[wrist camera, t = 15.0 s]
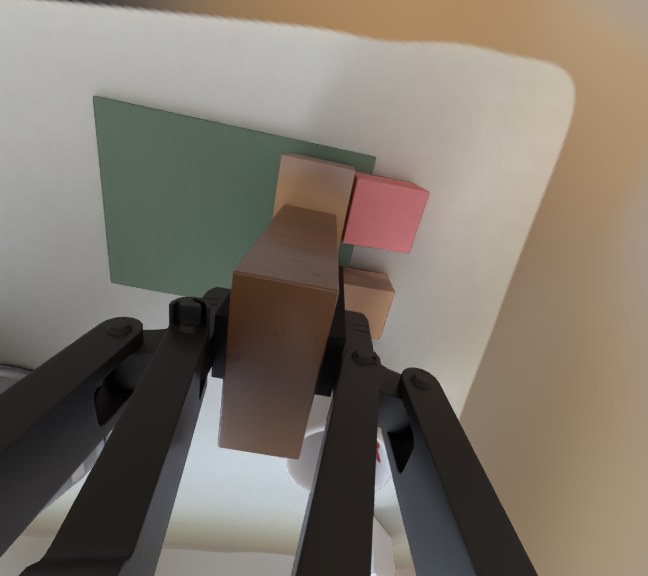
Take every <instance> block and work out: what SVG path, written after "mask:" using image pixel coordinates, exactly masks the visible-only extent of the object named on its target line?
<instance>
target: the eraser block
mask: <svg viewBox="0 0 648 576" xmlns="http://www.w3.org/2000/svg"><path fill="white" fill-rule="evenodd" d="M428 196H429V191H427V190H425V189H423V188H421V187H419V186H417V185H415V184H413V183H410V182H405V181H400V180H395V179H390V178H385V177H380V176H375V175H370V174H365V173H360V172H356V173H355V177H354V182H353V186H352V191H351V195H350V200H349V204H348V208H347V213H346V217H345V222H344V226H343V231H342V235H341V239H342V242H343V243H346V244H353V245H359V246H365V247H372V248H378V249H384V250H390V251H397V252H403V253H410V250H411V247H412V244H413V241H414V238H415V235H416V232H417V229H418V226H419V223H420V220H421V217H422V214H423V211H424V208H425V205H426V202H427V199H428Z"/></svg>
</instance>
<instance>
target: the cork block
mask: <svg viewBox="0 0 648 576" xmlns="http://www.w3.org/2000/svg"><path fill="white" fill-rule="evenodd" d="M343 275H344V297H345V310H349V311H354V312H360V313H363V314H364V315H365V316H366V318H367V319H368V321H369V328H370V334H371V338H373V339H380V337H381V334H382V331H383V328H384V325H385V322H386V319H387V316H388V312H389V309H390V306H391V303H392V300H393V297H394V294H395V291H394V289H393V287H392V284H391V282H390V280H389V278H388V275H387V274H381V273H375V272H370V271H364V270H359V269H353V268H347V267H343Z"/></svg>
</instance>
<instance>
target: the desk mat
mask: <svg viewBox="0 0 648 576" xmlns="http://www.w3.org/2000/svg"><path fill="white" fill-rule="evenodd" d="M93 104H94V115H95V125H96V135H97V145H98V155H99V165H100V175H101V185H102V196H103V206H104V216H105V226H106V236H107V246H108V256H109V266H110V277H111V283H116V284H121V285H127V286H132V287H137V288H143V289H148V290H153V291H159V292H164V293H170V294H175V295H180V296H186V297H198V298H202V297H203V296H204V294H205V293H206V292H207V291H208V290H210V289H212V288H214V287H222V288H227V289H231V283H232V272H233V270H234V269H235V268H236V267H237V265H238V264H239V263H240V261H241V260H242V259H243V257H244V256H245V255H246V253H247V252H248V251H249V249H250V248H251V247H252V246H253V244H254V243H255V242H256V240H257V239H258V238H259V236H260V235H261V234H262V232H263V231H264V230H265V228H266V227H267V226H268V225H269V223H270V222H271V221H272V219H273V211H274V204H275V196H276V188H277V181H278V173H279V165H280V158H281V154H283V153H287V152H290V151H291V152H296V153H301V154H305V155H310V156H315V157H320V158H324V159H329V160H334V161H338V162H343V163H348V164H352V165H353V167H354V168H355V169H356V172H360V173H365V174H370V175H372V171H373V167H374V163H375V159H376V157H373V156H369V155H364V154H360V153H355V152H350V151H346V150H341V149H337V148H332V147H327V146H323V145H318V144H314V143H309V142H304V141H300V140H295V139H291V138H286V137H281V136H277V135H272V134H268V133H263V132H258V131H254V130H249V129H244V128H240V127H235V126H231V125H226V124H221V123H217V122H212V121H208V120H203V119H198V118H194V117H189V116H185V115H180V114H175V113H171V112H166V111H162V110H157V109H152V108H148V107H143V106H139V105H134V104H129V103H125V102H120V101H116V100H111V99H106V98H102V97H97V96H93ZM353 247H354V245H353V244H346V243H343V242H342V239H341V240H340V244H339V249H338V266H343V267H347V268H348V267H349V263H350V259H351V255H352V251H353Z"/></svg>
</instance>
